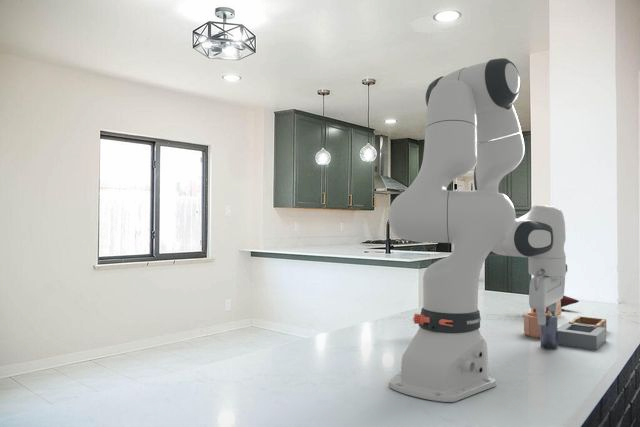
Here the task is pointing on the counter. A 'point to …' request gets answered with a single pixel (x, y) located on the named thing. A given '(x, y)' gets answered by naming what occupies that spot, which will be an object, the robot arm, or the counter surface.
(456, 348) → the robot arm
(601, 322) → the trough
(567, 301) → the icecream
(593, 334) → the grey rectangular frame box
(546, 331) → the cell
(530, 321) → the cup
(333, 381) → the counter surface
